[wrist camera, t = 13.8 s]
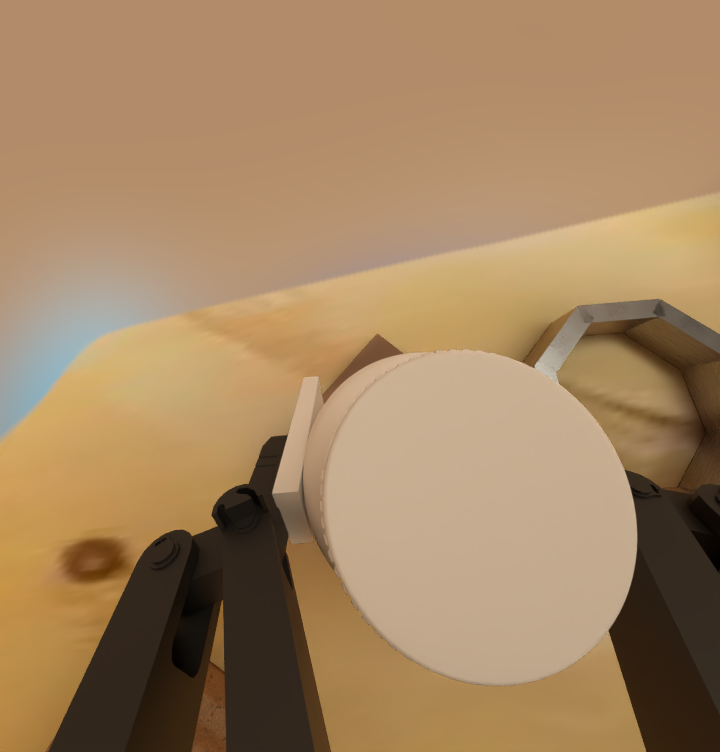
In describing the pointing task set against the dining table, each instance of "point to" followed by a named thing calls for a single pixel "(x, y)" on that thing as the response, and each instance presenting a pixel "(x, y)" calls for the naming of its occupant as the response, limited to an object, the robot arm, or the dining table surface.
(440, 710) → the dining table surface
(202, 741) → the candle holder
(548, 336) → the collar
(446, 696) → the dining table surface
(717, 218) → the dining table surface
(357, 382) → the pill bottle
